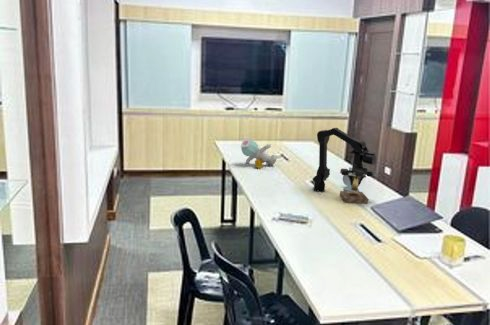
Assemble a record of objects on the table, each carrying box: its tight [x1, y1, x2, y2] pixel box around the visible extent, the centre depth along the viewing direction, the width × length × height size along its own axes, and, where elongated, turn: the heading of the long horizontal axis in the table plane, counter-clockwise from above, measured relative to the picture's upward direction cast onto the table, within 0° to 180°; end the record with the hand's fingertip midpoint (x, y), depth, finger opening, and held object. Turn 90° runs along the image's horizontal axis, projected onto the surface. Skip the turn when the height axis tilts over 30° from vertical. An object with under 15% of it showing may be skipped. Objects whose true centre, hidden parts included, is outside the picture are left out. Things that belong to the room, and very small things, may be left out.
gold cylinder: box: [351, 175, 359, 191], centre depth 277 cm, size 4×4×9 cm
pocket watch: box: [342, 174, 360, 192], centre depth 296 cm, size 10×11×15 cm
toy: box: [240, 137, 278, 170], centre depth 342 cm, size 32×18×30 cm
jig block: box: [339, 190, 369, 204], centre depth 279 cm, size 14×14×3 cm
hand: (354, 185), depth 278 cm, fingers closed on gold cylinder, 4 cm apart
